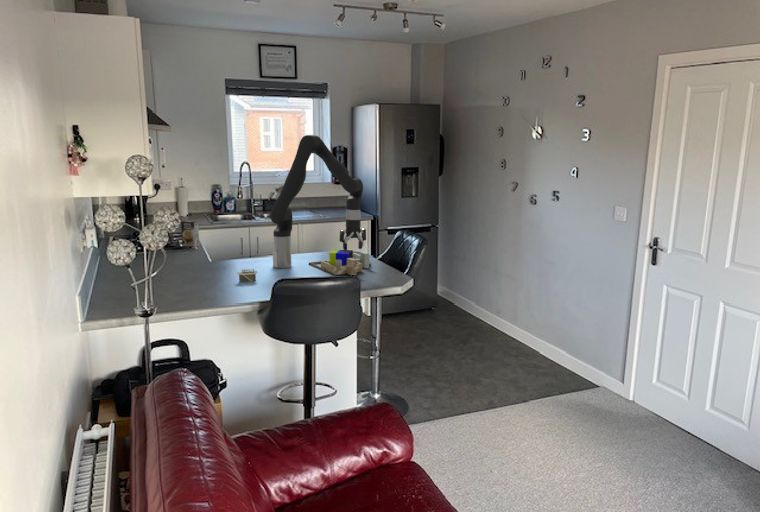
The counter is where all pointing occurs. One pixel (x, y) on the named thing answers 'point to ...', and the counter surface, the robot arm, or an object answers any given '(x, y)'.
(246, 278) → the wooden crate
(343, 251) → the puzzle toy
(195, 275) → the counter surface
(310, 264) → the lane rails
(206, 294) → the counter surface
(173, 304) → the counter surface
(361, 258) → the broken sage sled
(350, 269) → the beige lumpy mound
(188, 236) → the coffee box
